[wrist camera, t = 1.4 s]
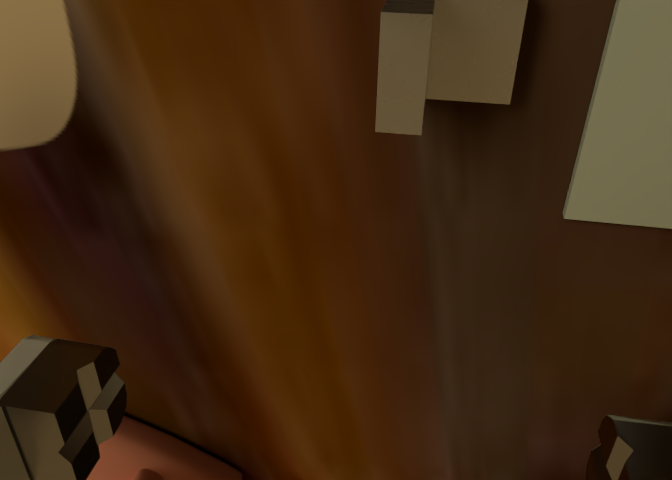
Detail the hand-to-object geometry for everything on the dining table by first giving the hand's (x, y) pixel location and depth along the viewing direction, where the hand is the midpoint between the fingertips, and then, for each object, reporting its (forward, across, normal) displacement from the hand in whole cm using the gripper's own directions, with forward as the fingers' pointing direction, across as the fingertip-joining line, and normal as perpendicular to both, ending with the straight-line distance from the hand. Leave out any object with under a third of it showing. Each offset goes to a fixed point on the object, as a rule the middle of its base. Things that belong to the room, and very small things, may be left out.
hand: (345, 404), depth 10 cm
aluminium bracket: (+24, -2, -1) cm, 24 cm away
